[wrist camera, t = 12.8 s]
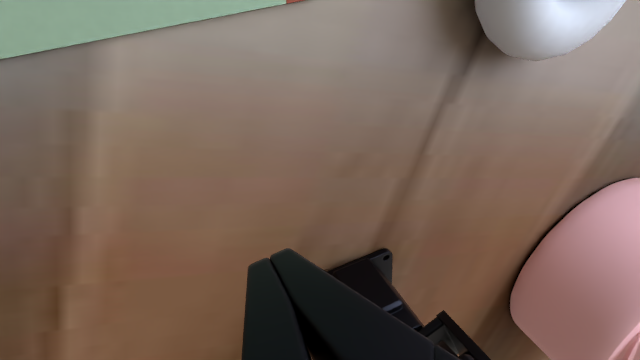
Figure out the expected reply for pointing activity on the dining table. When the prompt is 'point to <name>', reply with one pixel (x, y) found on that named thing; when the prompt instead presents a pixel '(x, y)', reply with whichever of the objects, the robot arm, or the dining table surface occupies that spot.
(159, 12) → the green flat piece
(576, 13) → the donut
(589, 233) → the cake
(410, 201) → the dining table surface
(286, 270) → the robot arm
